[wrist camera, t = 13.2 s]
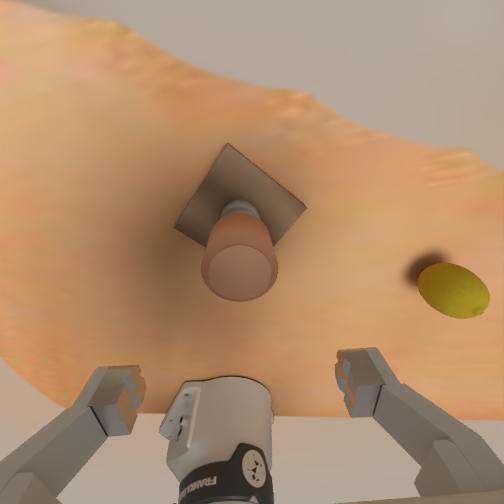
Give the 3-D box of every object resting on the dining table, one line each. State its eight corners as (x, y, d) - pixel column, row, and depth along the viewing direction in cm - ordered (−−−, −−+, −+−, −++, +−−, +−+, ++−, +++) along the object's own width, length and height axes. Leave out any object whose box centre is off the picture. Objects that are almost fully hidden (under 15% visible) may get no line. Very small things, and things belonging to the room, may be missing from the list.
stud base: (249, 267, 30) (251, 308, 23) (176, 222, 26) (155, 254, 20) (303, 203, 26) (325, 229, 19) (228, 143, 23) (223, 149, 16)
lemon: (399, 288, 32) (444, 334, 25) (411, 252, 30) (465, 291, 23) (439, 287, 32) (495, 331, 25) (454, 250, 30) (521, 289, 23)
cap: (281, 249, 20) (292, 283, 16) (232, 277, 21) (230, 316, 17) (249, 200, 18) (252, 223, 14) (196, 234, 19) (184, 265, 15)
